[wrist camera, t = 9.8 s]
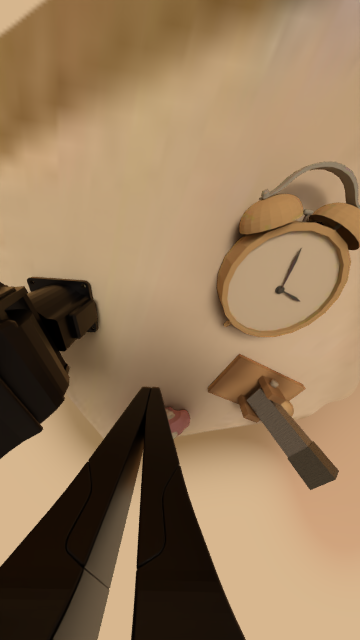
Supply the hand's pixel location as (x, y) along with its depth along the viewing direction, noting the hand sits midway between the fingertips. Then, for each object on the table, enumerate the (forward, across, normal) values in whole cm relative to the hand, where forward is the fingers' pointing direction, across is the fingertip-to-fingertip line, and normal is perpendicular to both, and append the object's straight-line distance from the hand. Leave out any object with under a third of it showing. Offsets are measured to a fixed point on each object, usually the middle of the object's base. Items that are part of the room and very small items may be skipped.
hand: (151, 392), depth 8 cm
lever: (+11, -14, +14) cm, 23 cm away
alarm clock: (+14, -11, -4) cm, 18 cm away
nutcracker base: (+13, -14, +14) cm, 24 cm away
